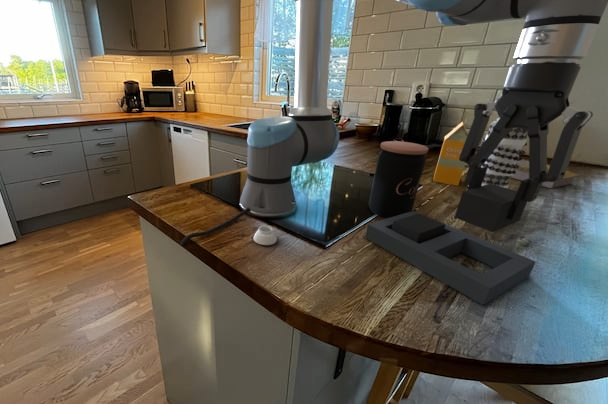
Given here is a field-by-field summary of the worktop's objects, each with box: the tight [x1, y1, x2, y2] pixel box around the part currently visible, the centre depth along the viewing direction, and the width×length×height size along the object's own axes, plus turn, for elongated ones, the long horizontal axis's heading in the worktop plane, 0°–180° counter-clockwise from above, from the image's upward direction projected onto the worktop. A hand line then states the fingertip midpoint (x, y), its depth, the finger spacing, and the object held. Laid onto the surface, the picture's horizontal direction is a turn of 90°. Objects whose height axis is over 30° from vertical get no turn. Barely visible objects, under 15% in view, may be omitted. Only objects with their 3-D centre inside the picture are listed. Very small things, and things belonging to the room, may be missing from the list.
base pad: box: [364, 210, 537, 306], centre depth 60 cm, size 16×24×4 cm, turn 28°
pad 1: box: [391, 212, 447, 244], centre depth 64 cm, size 9×6×5 cm, turn 119°
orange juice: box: [432, 121, 469, 186], centre depth 102 cm, size 8×9×20 cm
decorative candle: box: [466, 117, 528, 190], centre depth 77 cm, size 9×9×25 cm
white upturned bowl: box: [253, 225, 278, 246], centre depth 64 cm, size 5×3×5 cm
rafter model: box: [465, 151, 581, 189], centre depth 115 cm, size 35×14×6 cm, turn 23°
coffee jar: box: [368, 140, 429, 219], centre depth 77 cm, size 11×11×18 cm
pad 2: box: [454, 184, 528, 233], centre depth 51 cm, size 9×6×5 cm, turn 118°
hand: (490, 209), depth 51 cm, fingers closed on pad 2, 6 cm apart
